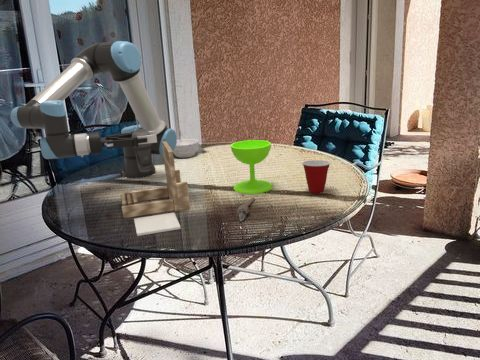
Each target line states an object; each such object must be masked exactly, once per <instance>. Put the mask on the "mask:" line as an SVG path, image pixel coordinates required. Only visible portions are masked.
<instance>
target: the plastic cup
mask: <svg viewBox="0 0 480 360" xmlns="http://www.w3.org/2000/svg"><path fill="white" fill-rule="evenodd" d="M331 163H332V162H331V161H329V160H325V159H323V160H322V159H308V160H304V161H302V162H301V164H302V167H303V169H304V175H305V179H306V184H307V188H308V192H309V193H310V194H315V195H319V194H323V193H324V192H325V188H326V182H327V178H328V171H329V169H330V165H331Z"/></svg>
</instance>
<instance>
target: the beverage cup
mask: <svg viewBox="0 0 480 360" xmlns="http://www.w3.org/2000/svg"><path fill="white" fill-rule="evenodd" d="M134 116H135V118H134V119H135V122H136V125H137V127H138V129H136V130H135V131H134V132H133V134H132V138H135V137H138V136H147V135H151V134H150V133H149V131H148V130H146V129H144V128H139V121H138V119H137V116H136V115H134ZM151 144H152V143H148V144H139V145H138V146H139V147H136V146H134V150H135V154H136V159H137V164H138V167H139V171H140V172H148V171H151V170H152V162H153V160H152V159H153V158H152V155H153V154H151Z"/></svg>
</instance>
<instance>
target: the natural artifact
mask: <svg viewBox="0 0 480 360" xmlns="http://www.w3.org/2000/svg"><path fill="white" fill-rule="evenodd" d="M255 200H256V198H255V197H251V198H250V199H249V200H248V201H246V202H245V203H242V204H241V205H239V206H238V208H237V211H236V214H237V218H239V221H240V222H241V223H242V222H244V220H245V218H247V217H248V214H249V212H250V209H249V208H250V206H251V205H252V203H253V202H255Z"/></svg>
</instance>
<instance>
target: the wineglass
mask: <svg viewBox="0 0 480 360" xmlns="http://www.w3.org/2000/svg"><path fill="white" fill-rule="evenodd" d="M271 145H272V142H270V141H269V140H263V139H248V140H242V141H241V140H240V141H236V142H233V143H231V144H230V149H231V152H232V155H233V156H234V157H235V159H236V160H237V161H239V162H241V163H242V164H245V165H249V177H250V179H248V180H244V181H241V182H237V184H235V185H234V186H233V191H234V190H235V191H234V192H236V193H238V192H239V194H242V193H245V194H246V195H257V194H262V193H267V192H269V191H271V190H272V189H273V188H274V186H273V184H272V183H270V182H269V181H267V180H263V179H256V169H255V165H257V164H259V163H261V162H263V161H265V159H266V158H267V157H268V155H269V153H270V151H271V148H272V147H271ZM245 194H244V195H245Z"/></svg>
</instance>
